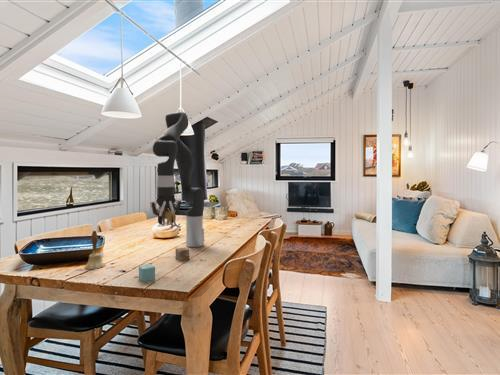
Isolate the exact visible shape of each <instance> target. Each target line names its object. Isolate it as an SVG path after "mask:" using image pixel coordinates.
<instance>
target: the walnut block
mask: <svg viewBox="0 0 500 375" xmlns="http://www.w3.org/2000/svg"><path fill="white" fill-rule="evenodd" d="M175 260H177V261H178V262H184V261H188V260H190V249H189V248H187V247H178V248H175Z"/></svg>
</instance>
